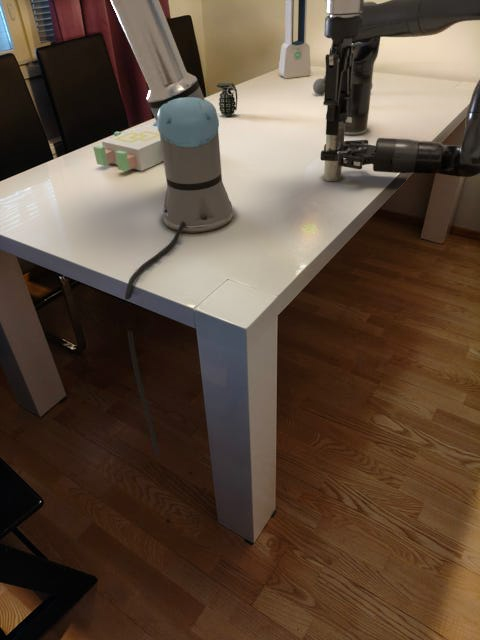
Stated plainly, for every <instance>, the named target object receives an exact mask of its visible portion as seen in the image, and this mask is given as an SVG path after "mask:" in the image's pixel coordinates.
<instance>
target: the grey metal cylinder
mask: <svg viewBox="0 0 480 640" xmlns="http://www.w3.org/2000/svg"><path fill="white" fill-rule="evenodd" d="M325 135H326V134H325ZM344 141H345V121H343V122H339V128H338V135H337V136H335V135H326V137H325V144H326V151H343V147H344ZM342 170H343V166H338V163H336V161H324V170H323V171H324V172H323V180H325V181H327V182H338V181H341V180H342V172H343V171H342Z"/></svg>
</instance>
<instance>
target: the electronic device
mask: <svg viewBox="0 0 480 640" xmlns="http://www.w3.org/2000/svg"><path fill="white" fill-rule="evenodd" d="M297 4H298V6H297V7H298V8H297V12H298V13H297V40H294V13H295V12H294V5H295V0H285V15H284V16H285V18H284V19H285V25H284V26H285V29H284V32H285V36H284V37H285V38H284V42H283V43H282V45H281V46H280V55H279V63H278V73H279V75H280V76H281V77H283V78H285V79H292V78H301V77H309V75H310V74H311V72H312V71H311V70H312V69H311V49H310V45H309V44H308V43H307V14H308V13H307V11H308V10H307V9H308V0H298V3H297Z"/></svg>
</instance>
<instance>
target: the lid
mask: <svg viewBox="0 0 480 640" xmlns="http://www.w3.org/2000/svg"><path fill="white" fill-rule="evenodd" d="M347 112H348V111H347V110H345V109H340V114H339V122H343V121H346V120H347V116H348V113H347ZM325 120H326V121H327V113H325Z"/></svg>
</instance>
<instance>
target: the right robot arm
mask: <svg viewBox="0 0 480 640" xmlns="http://www.w3.org/2000/svg"><path fill="white" fill-rule="evenodd" d="M360 15H361V17H362V25H361V34H360V36H358V37H356V38H352V44H355V45H356V49H355V54H354V64H353V75H352V87H351V93H349V94H352V97H351V98H346V99H348V100H347V111H348V112H347V113H348V116H347V120H346V125H345V134H344V136H357V135H363V134H365V133H366V132H367V131H368V122H369V113H370V106H371V105H370V103H371V95H372V89H371V86H372V87H373V76H374V65H375V62H376V60H377V58H378V55H379V51H380V44H381V43H380V42H381V39H382V38H416V37H417V38H418V37H428V36H434V35H438V34H441V33H443V32H445V31H447V30H448V29H449V28H451V27H452V26H454V25H456V24H459V23H463V22H471V21H480V0H387V1H384V2H381V3H376V2H375V1H364V5H363V11H362V13H360ZM464 128H465V129H464V131H463V135H462V137H461V138H462V139H461V142H460V145H459V144H458V145H457V144H456V145H455V144H444V143H442V142H439V141H430V140H415V139H408V138H391V137H390V138H387V137H378V138H377V139H376V142H375V145H374V144H369V140H368V139H359V140H344V147H343V151H326V143H325V144H324V146H323V150H321V151H320V159H319V160H321V161H324V162H325V161H336V163H338V166H342V168H348V169H355V170H362V169H363V166H365V165H372V170H373V172H376V173H377V172H379V173H391V174H392V173H394V174H410V173H411V174H412V173H413V174H427V175H428V174H439V175H445V176H453V177H461V178H471V177H472V178H473V177H474V176H478V175H479V174H480V78H479V79H478V81H477V83H476V85H475V87H474V88H473V92H472V95H471V98H470V101H469V105H468V109H467V113H466V116H465V121H464Z"/></svg>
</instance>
